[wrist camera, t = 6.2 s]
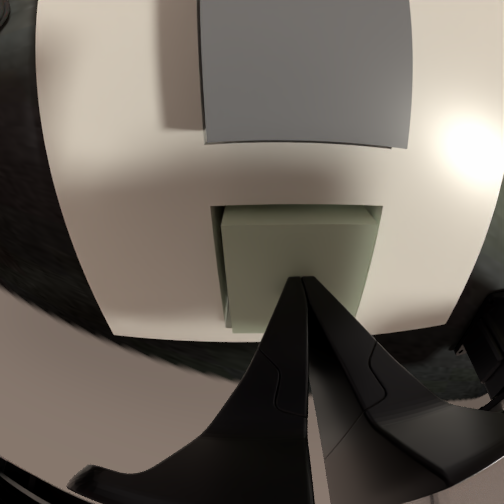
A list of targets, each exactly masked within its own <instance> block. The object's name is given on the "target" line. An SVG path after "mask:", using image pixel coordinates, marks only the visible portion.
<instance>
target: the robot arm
mask: <svg viewBox="0 0 504 504" xmlns="http://www.w3.org/2000/svg"><path fill="white" fill-rule="evenodd" d="M454 352H455V354H456V355H461V354H465V353H467V354H468V356H469V358H470V360H471V362H472V364H473V366H474V369H475V371H476V373H477V375H478V377H479V380H480V382H481V383H484V385H485V387H486V389H487V392H488V394H489V396H490V399H491V401H490V402H489V403H488V404H486V405H485V406H484V407H481V408H480V409H472V408H466V407H461V406H456V405H452V404H449V403H447V402H445V401H443V400H442V399H440V398H439V397H437V396H436V395H435V394H434V393H433V392H431V391H430V390H429V389H428V388H427V387H426V386H424V385H423V384H422V383H421V382H420V381H419V380H418V379H416V378H415V377H414V376H413V375H412V374H411V373H409V372H408V371H407V370H406V369H405V368H404V367H403V366H402V365H401V364H399V363H398V362H397V361H396V360H395V359H394V358H393V357H392V356H391V355H390V354H389V353H388V352H387V351H386V350H385V349H384V348H383V347H382V346H381V344H380V343H379V342H376V339H375V338H374V337H373V336H372V335H371V334H370V333H369V332H368V331H367V330H366V329H365V328H364V327H363V326H362V325H361V324H360V323H359V321H358V320H357V319H356V318H355V317H354V316H353V315H352V314H351V313H350V312H349V311H348V310H347V309H346V308H345V307H344V306H343V305H342V304H341V303H340V302H339V301H338V300H337V299H336V298H335V297H334V296H333V295H332V294H331V293H330V292H329V291H328V290H327V289H326V288H325V286H324V285H323V284H322V283H321V282H320V281H319V280H318V279H317V278H316V277H314V276H303V277H302V278H301V277H300V276H291V277H288V278H287V281H286V283H285V285H284V288H283V290H282V293H281V295H280V297H279V300H278V302H277V304H276V307H275V309H274V312H273V314H272V316H271V319H270V321H269V323H268V325H267V328H266V330H265V332H264V335H263V337H262V339H261V341H260V344H259V346H258V348H257V350H256V352H255V354H254V357H253V359H252V361H251V363H250V365H249V367H248V369H247V371H246V373H245V374H244V376H243V378H242V379H241V381H240V383H239V384H238V386H237V387H236V389H235V390H234V392H233V393H232V395H231V396H230V398H229V399H228V400H227V402H226V403H225V405H224V406H223V408H222V409H221V411H220V412H219V413H218V414H217V416H216V417H215V419H214V420H213V421H212V423H211V424H210V425H209V426H208V427H207V429H206V430H205V431H204V432H203V433H202V434H201V435H200V436H198V437H197V438H196V439H194V440H193V441H192V442H190V443H189V444H187V445H186V446H184V447H183V448H182V449H180V450H178V451H177V452H176V453H174V454H173V455H171V456H169V457H168V458H166V459H165V460H163V461H162V462H160V463H159V464H157V465H155V466H154V467H152V468H150V469H148V470H146V471H144V472H140V473H134V474H126V473H120V472H117V471H113V470H110V469H106V468H103V467H100V466H96V465H87V466H86V467H85V468H83V469H82V470H81V471H79V472H78V473H77V474H76V475H74V477H73V478H72V479H71V480H70V481H69V483H68V484H67V488H68V489H70V490H71V491H73V492H75V493H78V494H80V495H82V496H84V497H87V498H89V499H91V500H94V501H97V502H99V503H102V504H315V502H314V492H313V482H312V474H311V464H310V455H309V447H308V438H307V436H308V435H307V422H308V420H307V418H308V389H309V379H310V384H311V389H312V395H313V400H314V405H315V410H316V416H317V422H318V427H319V433H320V439H321V445H322V450H323V457H324V463H325V469H326V476H327V482H328V488H329V495H330V502H331V504H504V411H503V409H502V408H504V292H499V293H493V294H490V295H489V296H488V297H487V298H486V299H485V301H484V303H483V305H482V307H481V308H480V310H479V312H478V314H477V315H476V317H475V319H474V320H473V322H472V324H471V325H470V327H469V329H468V330H467V332H466V333H465V335H464V336H463V338H462V340H461V341H460V343H459V344H458V346H457V347H456V348H455V350H454ZM492 399H493V400H492ZM0 504H95V503H92V502H89V501H87V500H84V499H82V498H80V497H78V496H75V495H73V494H71V493H69V492H66V491H64V490H63V489H60V488H58V487H56V486H54V485H53V484H51V483H49V482H47V481H45V480H43V479H41V478H39V477H37V476H36V475H33V474H32V473H30V472H28V471H26V470H25V469H23V468H21V467H19V466H17V465H16V464H14V463H12V462H10V461H9V460H7V459H5V458H4V457H2V456H0Z"/></svg>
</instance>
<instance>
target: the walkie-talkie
mask: <svg viewBox="0 0 504 504" xmlns="http://www.w3.org/2000/svg"><path fill="white" fill-rule="evenodd" d="M9 11H10V5H9V1H8V0H0V27H1V26H2V24H3V23H4V22H5V20H6V19H7V17H8V15H9Z"/></svg>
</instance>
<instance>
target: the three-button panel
mask: <svg viewBox="0 0 504 504" xmlns="http://www.w3.org/2000/svg"><path fill="white" fill-rule="evenodd" d="M409 3H410V13H411V26H412V48H413V81H412V104H411V118H410V129H409V138H408V147H407V149H402V148H395V147H387V146H378V145H368V144H357V143H344V142H328V141H302V140H252V141H226V142H210V143H207V135H206V122H205V107H204V91H203V73H202V52H201V26H200V0H38V7H37V19H36V78H37V91H38V102H39V110H40V118H41V124H42V131H43V137H44V142H45V147H46V152H47V157H48V162H49V166H50V171H51V175H52V179H53V183H54V187H55V190H56V194H57V197H58V201H59V204H60V208H61V211H62V214H63V217H64V220H65V223H66V226H67V229H68V232H69V235H70V238H71V241H72V243H73V246H74V249H75V252H76V254H77V257H78V259H79V262H80V264H81V267H82V269H83V272H84V274H85V276H86V279H87V281H88V283H89V285H90V288H91V290H92V292H93V294H94V296H95V299H96V301H97V303H98V305H99V307H100V309H101V311H102V313H103V315H104V317H105V319H106V321H107V323H108V325H109V327H110V329H111V331H112V332H113V334H114V335H119V336H129V337H139V338H151V339H165V340H182V341H207V342H260V341H261V339H262V337H263V335H264V333H233V332H232V323H231V315H230V307H229V298H228V289H227V280H226V271H225V262H224V252H223V242H222V232H221V223H222V219H223V214H224V205H264V204H337V205H364V207H365V208H366V209H367V211H368V212H369V213H370V215H371V216H372V217H373V219H374V220H375V221H376V223H377V224H378V226H377V231H376V236H375V241H374V245H373V249H372V254H371V258H370V262H369V266H368V270H367V274H366V278H365V282H364V285H363V289H362V293H361V296H360V300H359V303H358V307H357V310H356V313H355V316H354V317H355V318H356V319H357V320H358V321H359V323H360V324H361V325H362V326H363V327H364V328H365V329H366V330H367V331H368V332H369V333H370V334H371V335H376V334H384V333H392V332H400V331H407V330H414V329H420V328H426V327H432V326H438V325H443V324H446V322H447V320H448V318H449V317H450V315H451V313H452V311H453V309H454V307H455V305H456V303H457V301H458V299H459V297H460V295H461V293H462V291H463V289H464V287H465V285H466V283H467V281H468V279H469V276H470V274H471V272H472V270H473V267H474V265H475V262H476V260H477V258H478V255H479V253H480V250H481V247H482V245H483V242H484V239H485V236H486V234H487V231H488V228H489V225H490V222H491V219H492V215H493V212H494V209H495V205H496V202H497V198H498V194H499V190H500V186H501V182H502V178H503V173H504V0H409Z"/></svg>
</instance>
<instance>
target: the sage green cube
mask: <svg viewBox="0 0 504 504" xmlns="http://www.w3.org/2000/svg"><path fill="white" fill-rule="evenodd" d="M377 226H378V224H377V223H376V221H375V220H374V219H373V217H372V216H371V215H370V213H369V212H368V211H367V209H366V208H365V207H364V205H337V204H264V205H226V206H225V210H224V214H223V219H222V223H221V232H222V242H223V252H224V262H225V271H226V280H227V289H228V298H229V307H230V315H231V323H232V332H233V333H264V332H265V330H266V328H267V325H268V323H269V321H270V319H271V316H272V314H273V312H274V309H275V307H276V304H277V302H278V300H279V297H280V295H281V293H282V290H283V288H284V285H285V283H286V281H287V278H288V277H291V276H300V277H301V278H302V277H303V276H314V277H316V278H317V279H318V280H319V281H320V282H321V283H322V284H323V285H324V286H325V288H326V289H327V290H328V291H329V292H330V293H331V294H332V295H333V296H334V297H335V298H336V299H337V300H338V301H339V302H340V303H341V304H342V305H343V306H344V307H345V308H346V309H347V310H348V311H349V312H350V313H351V314H352V315H353V316H355V313H356V310H357V307H358V303H359V300H360V296H361V293H362V289H363V285H364V282H365V278H366V274H367V270H368V266H369V262H370V258H371V254H372V249H373V245H374V241H375V236H376V231H377Z"/></svg>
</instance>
